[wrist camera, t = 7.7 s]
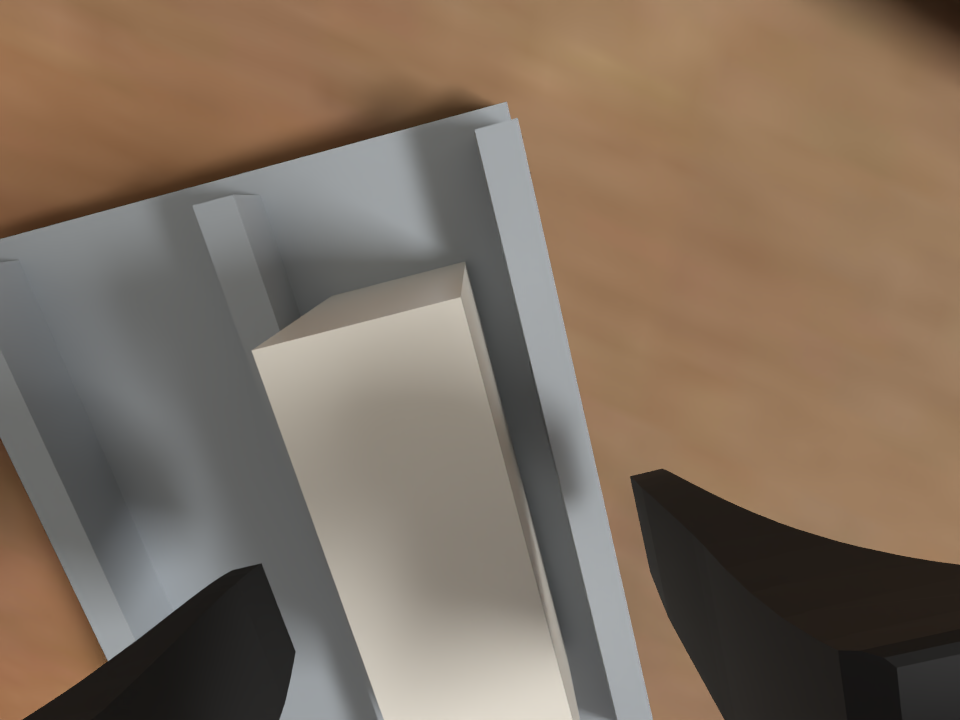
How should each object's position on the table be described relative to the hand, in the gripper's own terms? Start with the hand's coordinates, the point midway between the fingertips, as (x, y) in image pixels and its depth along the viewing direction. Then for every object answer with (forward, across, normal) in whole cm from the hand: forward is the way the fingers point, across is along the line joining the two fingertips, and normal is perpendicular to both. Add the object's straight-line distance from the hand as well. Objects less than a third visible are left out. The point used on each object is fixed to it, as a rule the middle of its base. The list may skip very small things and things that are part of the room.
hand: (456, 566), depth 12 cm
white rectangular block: (+3, 0, 0) cm, 3 cm away
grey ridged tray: (+4, +3, 0) cm, 5 cm away
